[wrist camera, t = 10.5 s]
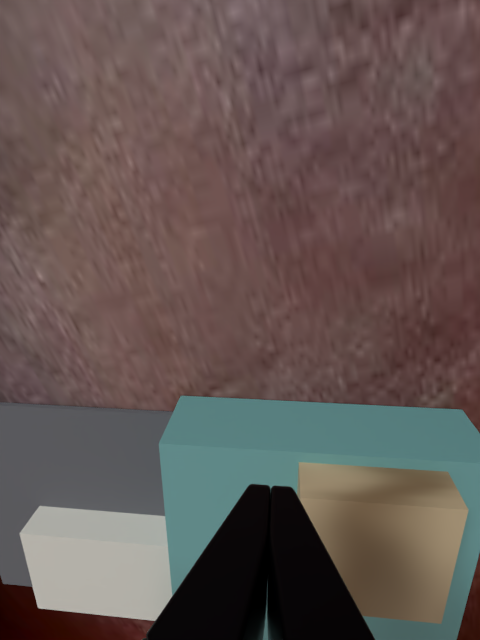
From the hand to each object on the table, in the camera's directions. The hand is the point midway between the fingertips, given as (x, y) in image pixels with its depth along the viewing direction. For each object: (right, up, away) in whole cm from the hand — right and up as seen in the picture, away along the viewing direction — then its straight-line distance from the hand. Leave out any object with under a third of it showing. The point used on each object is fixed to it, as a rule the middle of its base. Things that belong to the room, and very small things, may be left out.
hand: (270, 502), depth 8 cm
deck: (+3, -8, +15) cm, 18 cm away
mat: (-10, -8, +17) cm, 21 cm away
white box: (-8, -11, +17) cm, 22 cm away
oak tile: (+5, -5, +10) cm, 12 cm away
